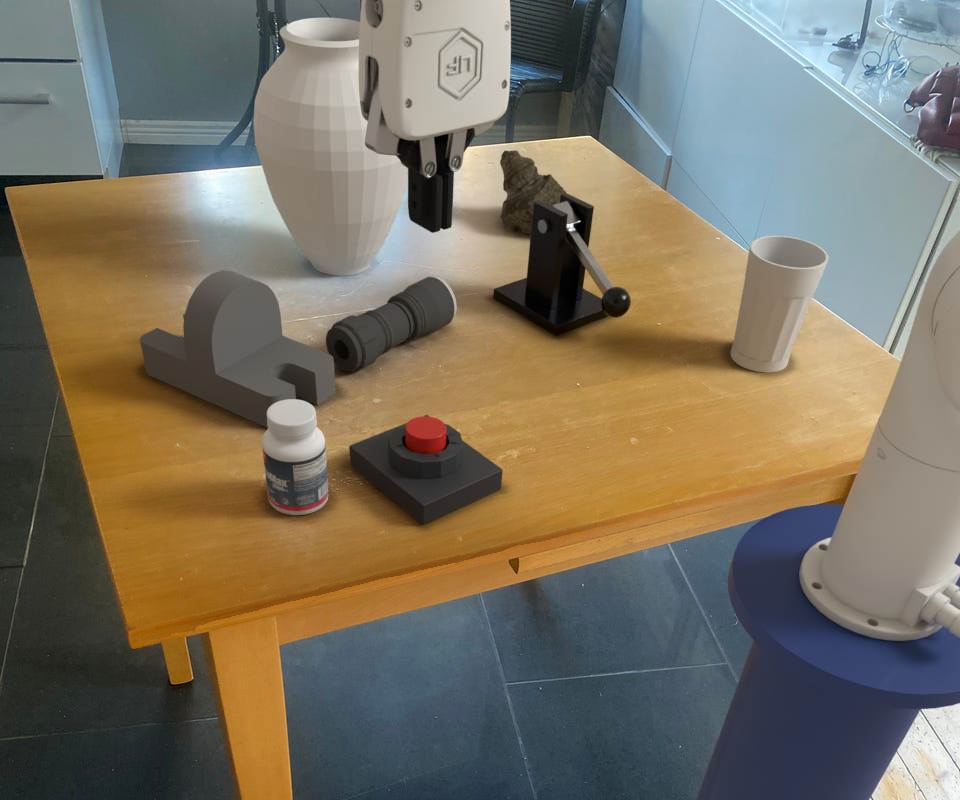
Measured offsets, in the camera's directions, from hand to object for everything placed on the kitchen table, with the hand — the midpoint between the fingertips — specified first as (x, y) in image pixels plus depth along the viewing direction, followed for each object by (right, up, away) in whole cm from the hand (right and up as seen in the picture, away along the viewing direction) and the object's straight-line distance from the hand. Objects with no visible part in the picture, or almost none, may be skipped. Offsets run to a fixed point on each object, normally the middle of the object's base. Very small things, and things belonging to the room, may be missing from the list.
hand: (430, 223), depth 74 cm
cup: (+35, 0, +36) cm, 50 cm away
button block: (-1, -16, +16) cm, 23 cm away
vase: (-13, +15, +47) cm, 51 cm away
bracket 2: (+12, +8, +42) cm, 44 cm away
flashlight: (-6, +1, +33) cm, 34 cm away
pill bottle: (-12, -19, +13) cm, 26 cm away
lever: (+15, +10, +35) cm, 40 cm away
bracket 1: (-21, -5, +26) cm, 34 cm away
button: (-1, -14, +14) cm, 19 cm away
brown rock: (+12, +23, +57) cm, 63 cm away
